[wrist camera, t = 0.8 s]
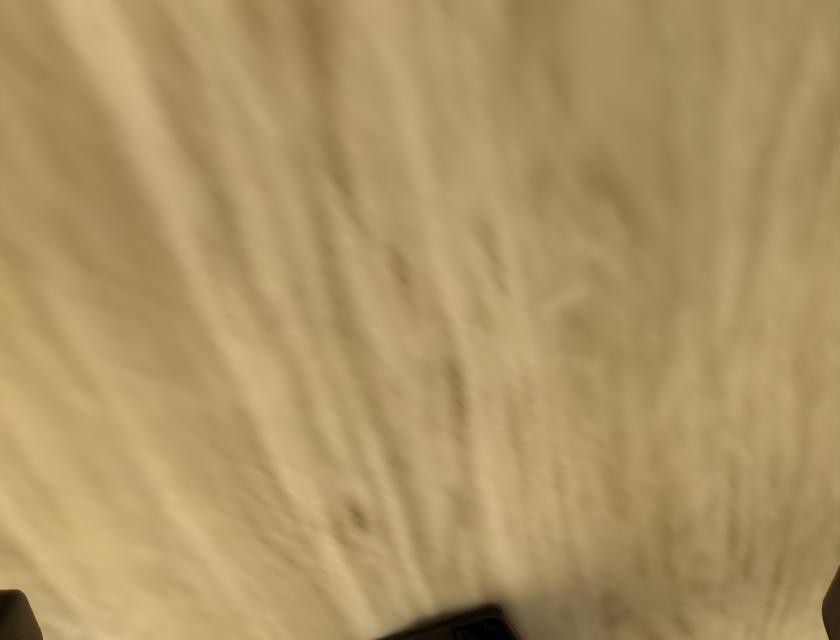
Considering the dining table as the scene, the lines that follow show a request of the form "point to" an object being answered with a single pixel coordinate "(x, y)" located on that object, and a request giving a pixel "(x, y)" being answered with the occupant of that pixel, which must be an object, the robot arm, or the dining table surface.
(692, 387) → the dining table surface
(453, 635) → the robot arm
